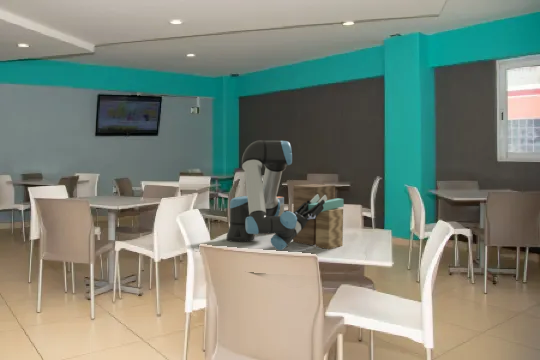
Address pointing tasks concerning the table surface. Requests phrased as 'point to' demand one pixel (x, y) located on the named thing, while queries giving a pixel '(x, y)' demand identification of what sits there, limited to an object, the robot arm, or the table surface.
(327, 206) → the batten
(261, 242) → the table surface
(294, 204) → the tall stand
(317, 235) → the short stand
